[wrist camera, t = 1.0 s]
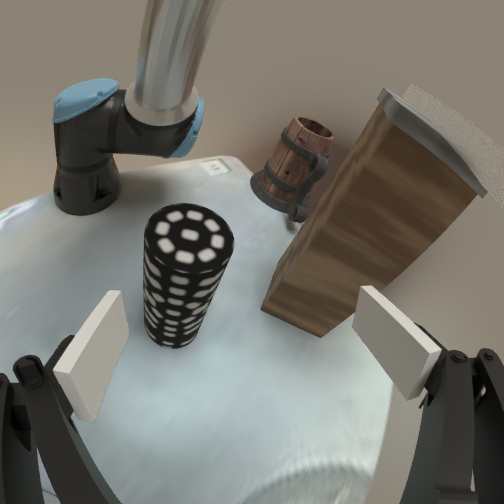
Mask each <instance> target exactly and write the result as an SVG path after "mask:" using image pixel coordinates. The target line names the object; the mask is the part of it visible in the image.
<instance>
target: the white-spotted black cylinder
mask: <svg viewBox="0 0 504 504" xmlns="http://www.w3.org/2000/svg"><path fill="white" fill-rule="evenodd" d="M233 249H234V237H233V233H232V231H231V229H230V227H229V225H228V224H227V223H226V222H225V220H224V219H223V218H221V217H220V216H219V215H218V214H216V213H215V212H213V211H212V210H210V209H208V208H205V207H202V206H199V205H195V204H188V203H179V204H172V205H169V206H166V207H164V208H161V209H159V210H158V211H157V212H155V213H154V214H153V215H152V216H151V217H150V219H149V220H148V222H147V224H146V227H145V233H144V267H143V290H144V322H145V328H146V331H147V333H148V335H149V337H150V338H151V339H152V340H153V341H154V342H156V343H157V344H159V345H160V346H163V347H166V348H172V349H174V348H181V347H184V346H186V345H188V344H189V343H190V342H192V341H193V339H194V338H195V337H196V335H197V333H198V330H199V328H200V326H201V323H202V321H203V319H204V316H205V314H206V312H207V309H208V307H209V305H210V302H211V300H212V298H213V296H214V293H215V291H216V289H217V286H218V284H219V282H220V280H221V277H222V275H223V273H224V271H225V268H226V266H227V264H228V262H229V259H230V257H231V255H232V253H233Z"/></svg>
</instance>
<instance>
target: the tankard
mask: <svg viewBox="0 0 504 504" xmlns="http://www.w3.org/2000/svg"><path fill="white" fill-rule="evenodd" d="M334 139H335V134H334V133H333V132H332V131H331V130H330V129H328V128H327V127H325V126H323V125H322V124H320V123H319V122H317V121H315V120H313V119H310V118H308V117H304V116H295V117H294V118H293V119H292V121H291V122H290V124H289V125H288V126H287V127H286V128H285V129H284V130H283V132H282V134H281V138H280V140H279V142H278V144H277V146H276V148H275V150H274V152H273V154H272V156H271V158H269V159H268V161H267V163H266V165H265V167H264V170H261V171H260V172H257V173H256V174H254V175H253V176H252V177H251V180H250V185H251V188H252V190H253V192H254V194H255V195H256V196H257V197H258V198H259V199H260V200H261V201H262V202H263V203H265V204H266V205H268V206H269V207H271V208H273V209H275V210H277V211H280V212H283V213H287V214H289V219H290V220H291V221H293V222H298V223H302V222H304V221H305V220H306V218H307V215H308V209H309V208H310V198H309V197H310V196H309V192H310V191H311V190H312V187H313V186H314V184H315V183H316V182H317V181H319V180H320V179H321V178H322V177H323V176H324V175H325V173H326V171H327V169H328V157H329V155H330V153H331V147H332V144H333V142H334Z"/></svg>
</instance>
